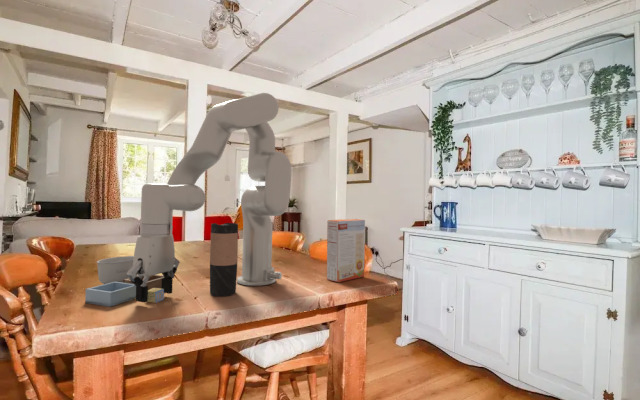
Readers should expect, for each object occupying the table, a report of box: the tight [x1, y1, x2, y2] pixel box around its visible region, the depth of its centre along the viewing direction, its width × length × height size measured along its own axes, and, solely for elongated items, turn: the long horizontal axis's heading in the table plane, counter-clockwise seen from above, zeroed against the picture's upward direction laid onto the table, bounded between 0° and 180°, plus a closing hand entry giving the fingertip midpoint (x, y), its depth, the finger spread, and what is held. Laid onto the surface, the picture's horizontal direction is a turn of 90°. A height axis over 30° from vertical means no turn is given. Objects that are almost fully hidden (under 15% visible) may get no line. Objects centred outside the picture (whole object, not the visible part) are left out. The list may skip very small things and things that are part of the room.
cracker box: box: [326, 218, 366, 283], centre depth 120 cm, size 14×6×21 cm, turn 133°
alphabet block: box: [146, 288, 165, 304], centre depth 90 cm, size 3×3×3 cm
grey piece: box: [96, 255, 134, 285], centre depth 106 cm, size 14×11×8 cm
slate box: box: [84, 282, 136, 308], centre depth 89 cm, size 8×8×4 cm
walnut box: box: [123, 274, 164, 290], centre depth 99 cm, size 8×8×4 cm
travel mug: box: [209, 222, 239, 298], centre depth 98 cm, size 8×8×20 cm
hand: (154, 296), depth 89 cm, fingers open, 7 cm apart
